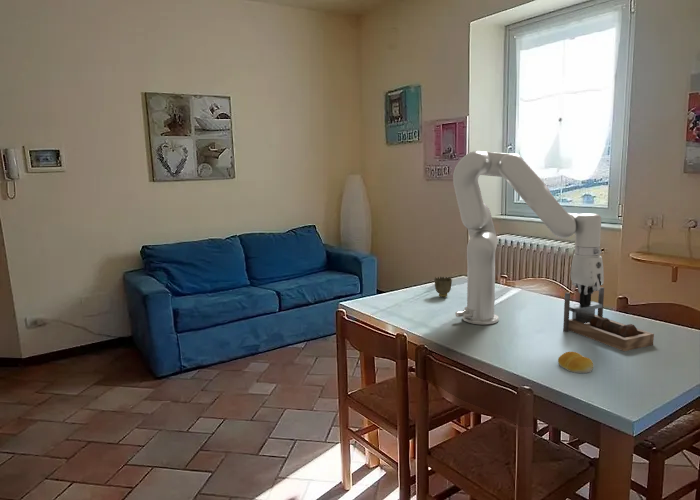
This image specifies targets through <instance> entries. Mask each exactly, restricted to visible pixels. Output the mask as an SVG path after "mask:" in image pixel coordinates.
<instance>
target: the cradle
mask: <svg viewBox="0 0 700 500" xmlns="http://www.w3.org/2000/svg"><path fill="white" fill-rule="evenodd" d="M604 296H605V287H603V286H602V287H601V286H600V290H599V291H598V297H597V298H598V300H597V303H600V304H602V308H597V314H595V318H599V319H600V318H604V317H603V316H604V315H603V313H604V299H605V297H604ZM570 305H571V292H564V306H563V324H562V325H563V326H562V327H563V328H562V329H563V332H564V333H567V332H569V331H570V332H573V333H575V334H578V335H580V336H583V337H586V338H588V339H591V340H594V341H596V342H598V343H601V344H605V345H606V346H609V347H611V348H612V347H613V348H614V349H617V350H620V351H623V352H628V351H632V350H638V349H641V348H646V347H650V346H654V340H655V339H654V336H655V333H652V332H650V331H646V330H644V329H640V328H637V335H635V336H630V337H626V338H624V337H621V336H619V335H616V334H613V333H610V332H607V331H604V330H601V329H598V328H595V327H593V326H591V325H590V323H581V322H578V321H576V320H573V319H572V318H570V311H569V308H570ZM608 319H609V318H608ZM609 320H610V322H611V323H615V324H618V325H621V326H624V325H626V324H624V323H621V322H618V321H615V320H612V319H609Z"/></svg>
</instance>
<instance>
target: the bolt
mask: <svg viewBox="0 0 700 500" xmlns="http://www.w3.org/2000/svg"><path fill="white" fill-rule="evenodd" d="M610 320H611V319H610ZM610 320H609V318H607V317H603V318H600V319H599V318H591V320H590V325H591V326H593V327H595V328H598V329H601V330H604V331H607V332H610V333H613V334H616V335H619V336H621V337H624V338H626V337H630V336H635V335H637V329H638V327H636V325H634V324H632V323H630V324H625V325H624V326H621V325H618V324H615V323H611V322H610Z"/></svg>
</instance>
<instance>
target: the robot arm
mask: <svg viewBox="0 0 700 500" xmlns="http://www.w3.org/2000/svg"><path fill="white" fill-rule="evenodd" d="M452 176H453V177H452V182H453V183H452V184H453V188H454V193H455V196H456V197H455V198H456V203H457V206H458V211H459V214H460V220H461V223H462V225H463V226H464V227H465V228H466V229H467V231H468V235H469V240H468V242H467V245H466V261H467V266H466V267H467V271H466V272H467V274H466V277H467V283H466V284H467V287H466V289H467V290H466V292H467V293H466V295H467V298H466V301H467V303H466V304H467V305H466V306H465V307H464V309H463V310H461V311H460V310H459V311H456V312H455V317H456V318H460V317H462V320H463V321H464V322H466V323H469V324H473V325H480V326H481V325H483V326H485V325H487V326H488V325H493V324H496V323H497V322H499V315H497V314H495V303H496V302H495V299H496V296H495V295H496V290H495V288H496V287H495V286H496V250H497V247H498V237H497V236H498V235H497V232H496V228H495V225H494V222H493V217H492V213H491V211H490V208H489V206H488V205H487V204H486V203H484V199H483V196H482V191H481V188H480V184H479V177H480V176H487V177H488V176H489V177H500V178H501V177H502V178H503V179H504V180H505V181H506V182H507V183H508V184H509V186H510V187H511V188H512V189H513V190H514V191H515V192H516V193H517V195H518V196H519V197H520V198H521V199H522V201H524V202H525V204H526V205H527V206H528V207H529V208H530V209H531V210H532V211H533V212H534V213H535V215H536V216H537V217H538V218H539V219H540V221H541V222H542V223H543V224H544V225H545V226H546V227H547V228H548V229H549V230H550V232H551V233H552V234H553V235H554V236H555V237H557V238H560V239H567V238H570V237H572V236H573V235H574V236H575V237H574V238H575V239H574V254H573V256H572V261H571V266H570V280H571V284H572V285H573V286H574V287H576V288H577V291H578V293H579V304H580V305H582V306H588V305H590V304H591V302H592V294H593V293H594V292H599V290H600V287H601V286H604V282H605V277H604V276H605V273H604V272H605V271H604V269H605V268H604V261H603V257H602V256H601V254H603V253H602V250H601V234H602V232H601V231H602V217H601V215H600V214H598V213H588V212H587V213H586V212H585V213H573V212H572V213H571V212H567V211H566V210H565V209H564V207H563V206H562V205H561V204H560V203H559V202H558V200H557V199H556V198H555V197H554V195H553V194H552V193H551V191H550V189H549V187H548V186H547V185H546V184H545V182H544V181H543V180H542V179H541V178H540V177H539V176H538V174H536V172H535V171H534V170H533V169H532V168H531V167H530V166H529V164H528V163H527V162H526V161H525V160H524V158H523V156H521V155H520V154H519V153H512V152H511V153H508V152H506V153H505V152H494V151H493V152H491V151H483V150H482V151H481V150H473V151H470V152H468V153H466V154H465V155H464V156H463V157H462V158H461V159H459V160H458V163H457V164H456V165H455V168H454V170H453V175H452Z"/></svg>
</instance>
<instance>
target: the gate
mask: <svg viewBox="0 0 700 500" xmlns="http://www.w3.org/2000/svg"><path fill="white" fill-rule="evenodd" d="M598 308H602V304H600V303H598V301H597V302H596V301H592V300H591V304H590V305H588V306H582V305H580V303H575V304H570V308H569V312H572V314H571V315H572V316H571V319H573V320H576V321H578V322H581V323H584V324H585V323H590V320H591V318H595V315H596V310H598Z"/></svg>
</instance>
